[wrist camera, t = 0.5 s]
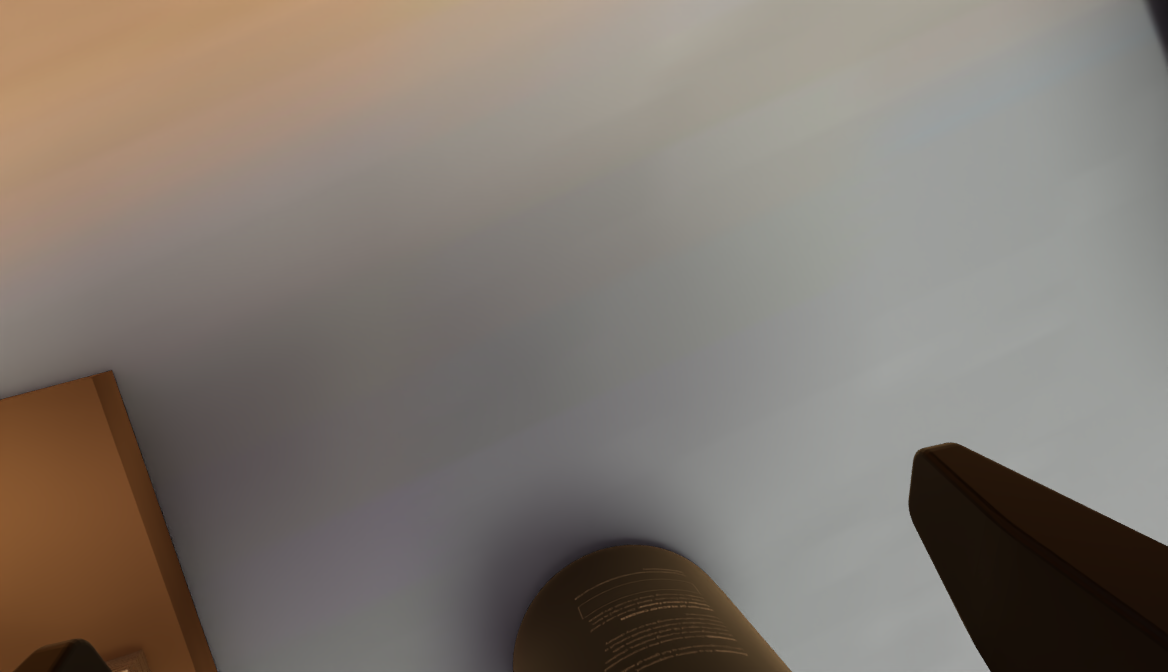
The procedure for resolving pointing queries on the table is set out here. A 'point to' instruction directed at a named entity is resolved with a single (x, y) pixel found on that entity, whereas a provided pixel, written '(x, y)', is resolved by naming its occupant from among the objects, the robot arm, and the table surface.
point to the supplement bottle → (638, 619)
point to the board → (87, 535)
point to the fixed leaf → (130, 663)
